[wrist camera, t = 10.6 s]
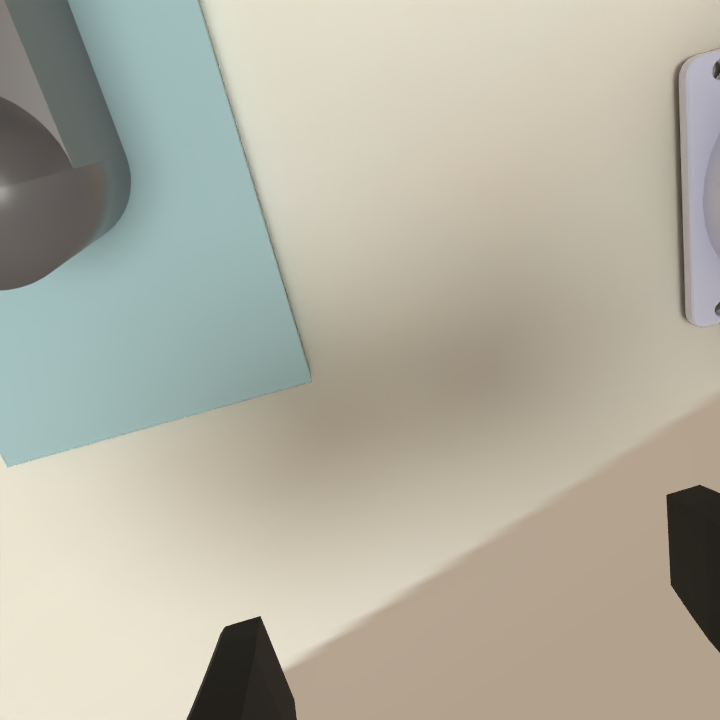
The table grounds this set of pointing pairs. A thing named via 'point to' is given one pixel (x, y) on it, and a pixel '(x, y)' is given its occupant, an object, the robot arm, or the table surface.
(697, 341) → the table surface
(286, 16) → the table surface
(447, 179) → the table surface
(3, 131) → the connector
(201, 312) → the desk mat
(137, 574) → the table surface
